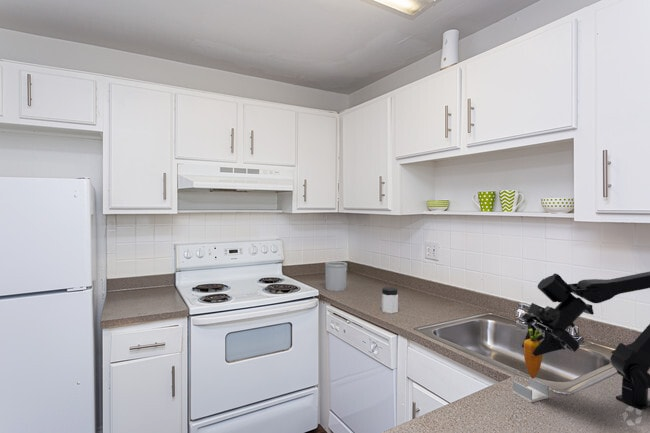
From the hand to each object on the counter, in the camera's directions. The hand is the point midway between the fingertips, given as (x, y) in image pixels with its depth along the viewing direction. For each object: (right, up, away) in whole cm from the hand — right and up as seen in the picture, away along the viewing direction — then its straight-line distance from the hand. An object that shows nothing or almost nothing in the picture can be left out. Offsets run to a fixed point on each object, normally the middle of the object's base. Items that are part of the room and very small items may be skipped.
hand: (528, 351), depth 107 cm
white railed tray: (+1, -13, +1) cm, 13 cm away
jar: (-25, -11, +88) cm, 92 cm away
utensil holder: (-53, -10, +139) cm, 149 cm away
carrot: (+1, -8, 0) cm, 8 cm away
